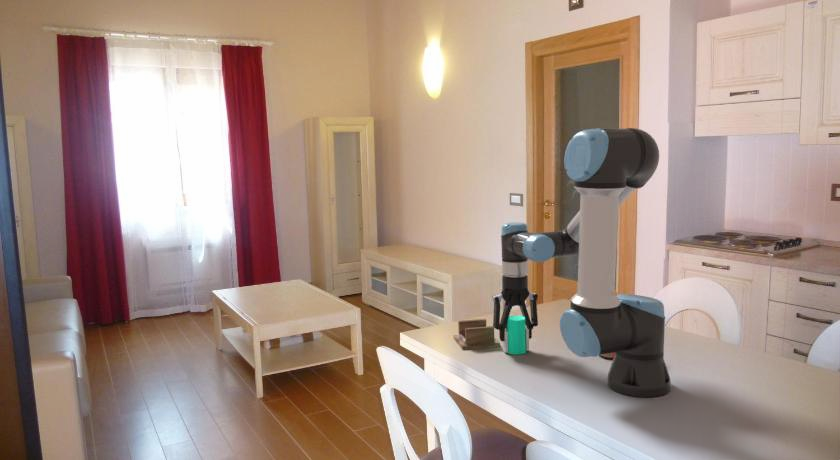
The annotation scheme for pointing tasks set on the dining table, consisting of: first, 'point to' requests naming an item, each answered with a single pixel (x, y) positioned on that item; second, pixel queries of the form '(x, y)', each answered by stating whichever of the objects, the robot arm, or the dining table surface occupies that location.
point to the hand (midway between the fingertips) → (515, 350)
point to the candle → (516, 335)
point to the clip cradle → (475, 334)
